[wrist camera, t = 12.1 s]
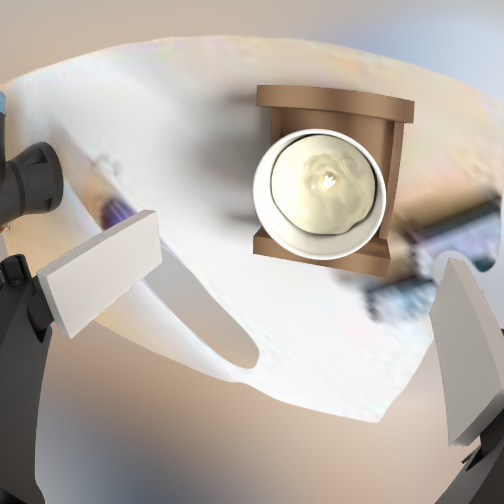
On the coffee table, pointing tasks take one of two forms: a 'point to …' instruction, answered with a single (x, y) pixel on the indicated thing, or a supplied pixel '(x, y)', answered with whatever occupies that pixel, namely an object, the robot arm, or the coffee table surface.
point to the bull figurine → (3, 229)
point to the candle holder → (319, 194)
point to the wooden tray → (359, 129)
